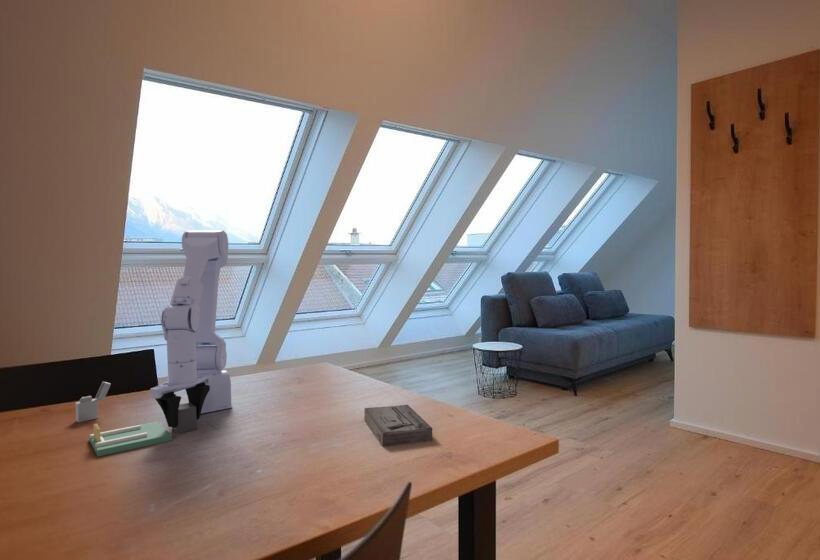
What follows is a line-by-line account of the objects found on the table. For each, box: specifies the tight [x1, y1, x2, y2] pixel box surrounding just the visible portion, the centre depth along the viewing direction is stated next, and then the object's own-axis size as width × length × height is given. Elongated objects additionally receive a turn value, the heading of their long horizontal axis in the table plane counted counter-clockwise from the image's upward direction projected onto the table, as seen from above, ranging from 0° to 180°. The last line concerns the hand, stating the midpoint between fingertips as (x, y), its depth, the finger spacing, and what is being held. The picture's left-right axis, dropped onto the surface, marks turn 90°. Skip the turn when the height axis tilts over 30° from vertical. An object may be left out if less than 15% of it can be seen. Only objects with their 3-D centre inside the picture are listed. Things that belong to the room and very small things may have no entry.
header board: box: [88, 420, 173, 457], centre depth 105 cm, size 13×11×4 cm
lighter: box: [74, 381, 111, 423], centre depth 120 cm, size 7×2×8 cm, turn 141°
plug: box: [171, 402, 198, 434], centre depth 112 cm, size 4×4×5 cm
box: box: [363, 404, 433, 447], centre depth 111 cm, size 11×17×3 cm, turn 18°
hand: (184, 422), depth 112 cm, fingers closed on plug, 5 cm apart
